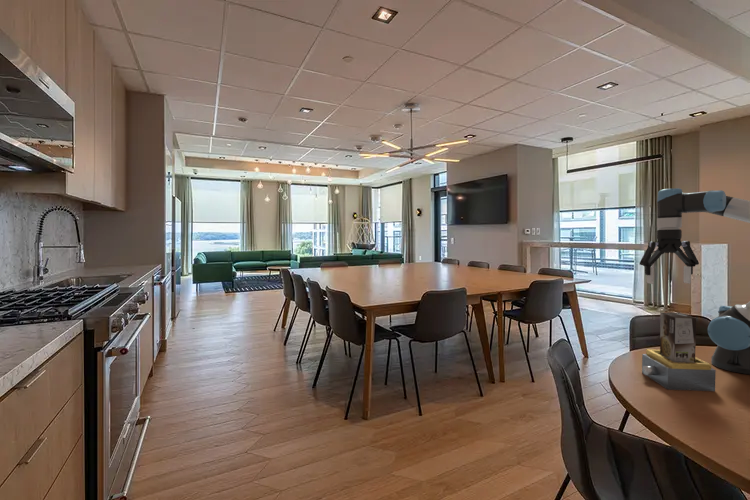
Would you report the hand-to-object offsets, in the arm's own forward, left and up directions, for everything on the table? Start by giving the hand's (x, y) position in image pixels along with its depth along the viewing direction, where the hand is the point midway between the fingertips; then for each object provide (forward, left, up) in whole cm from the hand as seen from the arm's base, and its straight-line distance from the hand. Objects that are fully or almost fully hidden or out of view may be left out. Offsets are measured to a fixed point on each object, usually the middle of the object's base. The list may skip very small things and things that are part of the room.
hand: (668, 283), depth 143 cm
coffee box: (+8, +19, -25) cm, 32 cm away
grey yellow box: (+10, +19, -31) cm, 38 cm away
